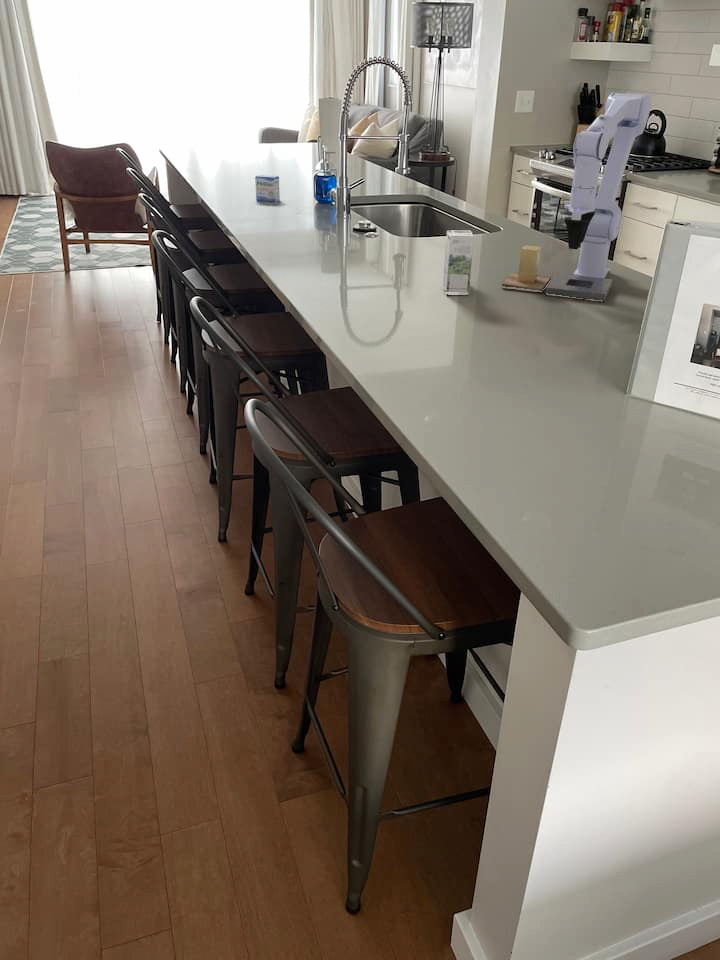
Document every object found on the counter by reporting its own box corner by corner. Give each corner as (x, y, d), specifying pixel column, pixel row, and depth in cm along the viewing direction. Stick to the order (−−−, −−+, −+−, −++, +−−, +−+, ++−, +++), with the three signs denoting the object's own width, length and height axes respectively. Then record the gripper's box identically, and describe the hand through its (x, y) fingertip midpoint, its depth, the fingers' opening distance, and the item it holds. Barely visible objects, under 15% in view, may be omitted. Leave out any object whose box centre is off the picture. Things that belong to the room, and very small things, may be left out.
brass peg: (521, 277, 200) (524, 245, 197) (536, 279, 199) (540, 246, 195) (517, 281, 197) (521, 248, 193) (533, 283, 196) (537, 250, 192)
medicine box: (255, 200, 293) (254, 176, 289) (260, 198, 297) (259, 174, 293) (275, 202, 291) (274, 177, 287) (280, 200, 295) (279, 175, 291)
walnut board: (512, 276, 205) (512, 272, 205) (550, 281, 202) (551, 276, 201) (501, 288, 196) (502, 283, 195) (541, 293, 192) (542, 288, 192)
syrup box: (465, 289, 195) (470, 229, 188) (469, 296, 190) (474, 234, 183) (442, 289, 195) (446, 229, 188) (445, 296, 190) (449, 234, 182)
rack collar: (555, 281, 202) (556, 273, 201) (611, 287, 198) (612, 279, 197) (544, 295, 191) (545, 287, 190) (604, 302, 186) (605, 294, 185)
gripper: (572, 181, 192) (564, 237, 199) (562, 190, 181) (554, 250, 187) (601, 183, 190) (592, 240, 197) (593, 192, 178) (584, 253, 185)
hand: (575, 245), depth 192 cm, fingers open, 7 cm apart
